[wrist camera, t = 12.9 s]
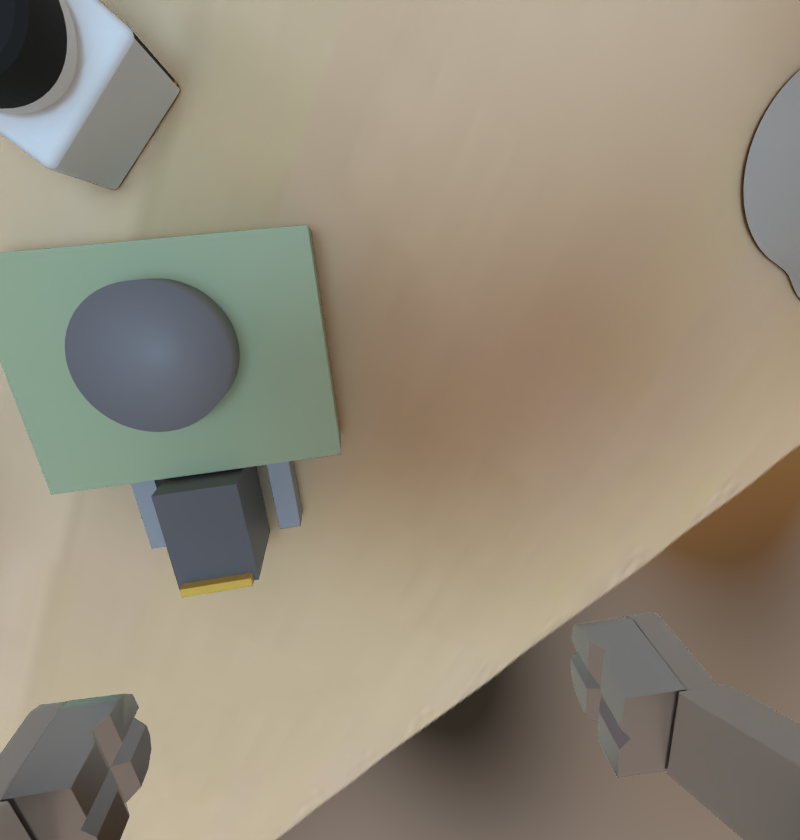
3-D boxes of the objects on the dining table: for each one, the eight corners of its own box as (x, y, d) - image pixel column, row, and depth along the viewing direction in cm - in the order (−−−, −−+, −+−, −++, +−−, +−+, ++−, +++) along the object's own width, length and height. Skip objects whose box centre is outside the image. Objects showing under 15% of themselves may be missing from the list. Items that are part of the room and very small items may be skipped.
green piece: (310, 229, 30) (304, 220, 23) (350, 505, 36) (354, 558, 30) (10, 257, 28) (-89, 255, 22) (109, 541, 35) (56, 606, 28)
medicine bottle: (184, 89, 27) (75, -38, 15) (117, 193, 28) (-30, 146, 17) (61, -18, 25) (-169, -256, 13) (-6, 100, 26) (-270, -27, 14)
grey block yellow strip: (252, 447, 34) (234, 488, 28) (270, 530, 36) (257, 585, 30) (181, 457, 34) (147, 501, 27) (204, 540, 36) (177, 598, 30)
